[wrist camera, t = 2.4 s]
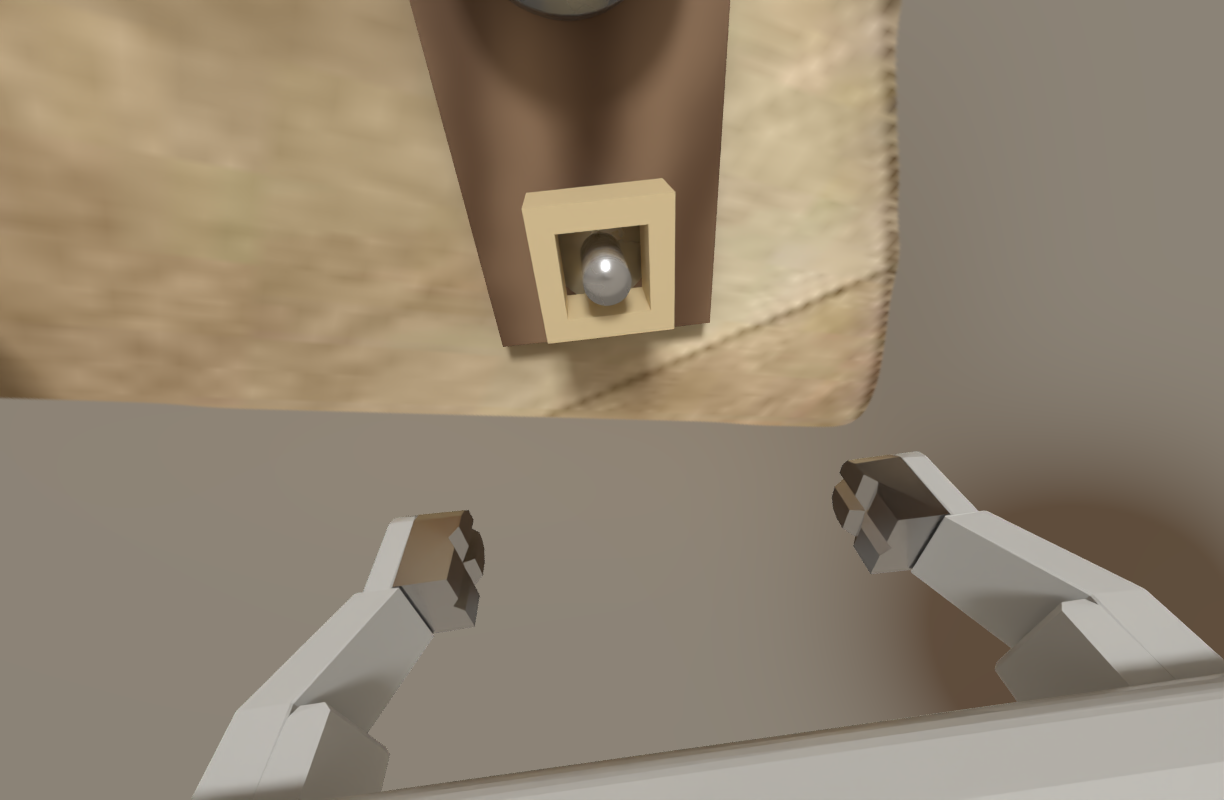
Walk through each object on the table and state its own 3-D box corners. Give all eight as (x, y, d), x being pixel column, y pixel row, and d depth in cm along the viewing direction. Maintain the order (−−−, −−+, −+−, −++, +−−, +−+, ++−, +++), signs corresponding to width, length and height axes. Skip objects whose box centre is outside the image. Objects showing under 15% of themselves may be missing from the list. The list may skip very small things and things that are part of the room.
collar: (549, 317, 25) (547, 343, 22) (525, 193, 21) (521, 208, 18) (663, 304, 25) (674, 329, 23) (662, 178, 21) (675, 192, 19)
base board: (505, 335, 30) (503, 346, 29) (293, -475, 13) (266, -528, 12) (703, 312, 31) (709, 322, 29) (747, -507, 14) (765, -562, 12)
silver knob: (559, 283, 27) (559, 339, 21) (544, 193, 24) (540, 231, 18) (643, 274, 27) (664, 327, 21) (639, 182, 24) (663, 217, 18)
